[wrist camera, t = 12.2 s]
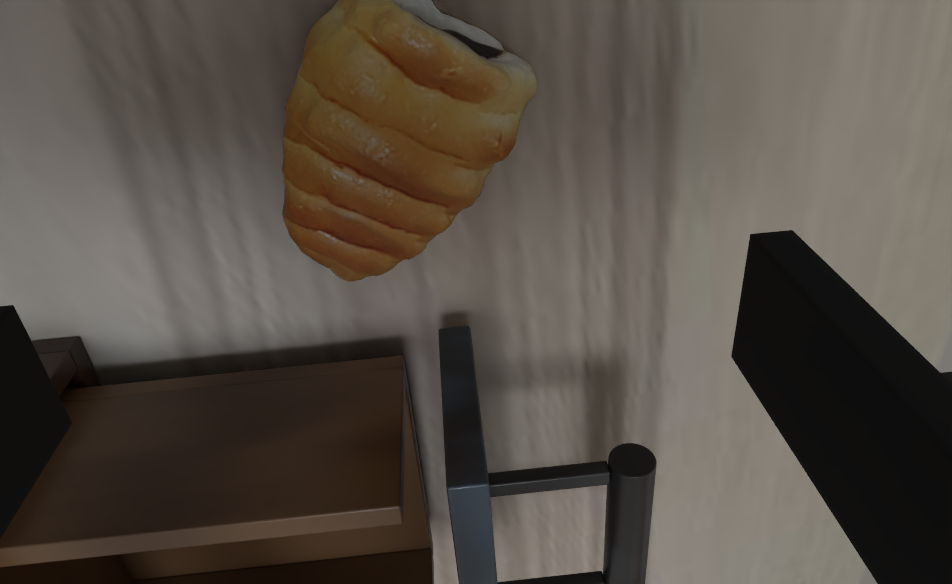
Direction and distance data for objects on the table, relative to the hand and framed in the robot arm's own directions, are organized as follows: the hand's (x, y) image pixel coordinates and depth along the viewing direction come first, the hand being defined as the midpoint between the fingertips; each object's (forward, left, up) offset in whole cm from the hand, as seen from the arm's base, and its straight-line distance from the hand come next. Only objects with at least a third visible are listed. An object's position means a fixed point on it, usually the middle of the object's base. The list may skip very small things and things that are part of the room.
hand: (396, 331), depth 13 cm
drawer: (+14, -4, -11) cm, 18 cm away
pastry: (0, 0, -12) cm, 12 cm away
